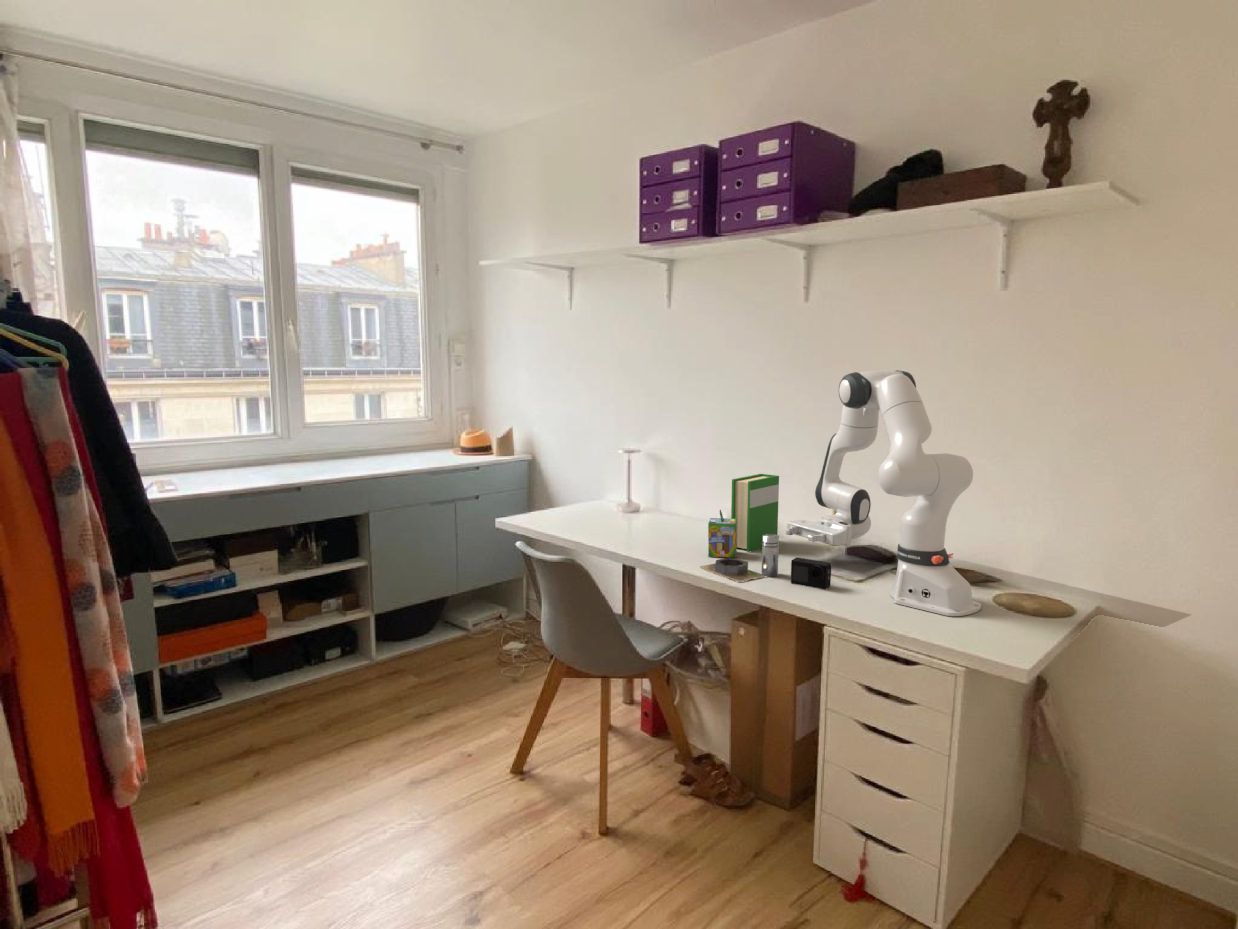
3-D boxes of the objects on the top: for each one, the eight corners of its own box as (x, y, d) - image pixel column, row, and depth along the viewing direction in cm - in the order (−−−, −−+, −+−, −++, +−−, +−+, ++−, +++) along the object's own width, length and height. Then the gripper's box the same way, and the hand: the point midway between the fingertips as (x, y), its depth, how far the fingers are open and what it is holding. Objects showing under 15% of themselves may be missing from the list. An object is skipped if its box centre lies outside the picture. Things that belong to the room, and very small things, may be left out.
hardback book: (748, 552, 246) (750, 481, 243) (730, 548, 251) (731, 479, 248) (777, 543, 259) (779, 475, 256) (759, 539, 264) (760, 473, 261)
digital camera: (788, 584, 210) (789, 560, 209) (795, 580, 215) (796, 556, 214) (823, 590, 204) (824, 566, 203) (830, 586, 209) (831, 562, 208)
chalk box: (735, 558, 238) (736, 514, 236) (707, 557, 240) (708, 512, 238) (737, 551, 247) (738, 508, 245) (709, 550, 249) (710, 507, 247)
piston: (781, 575, 219) (782, 536, 217) (769, 578, 216) (770, 538, 215) (769, 571, 223) (770, 533, 221) (757, 574, 220) (758, 535, 219)
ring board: (764, 577, 217) (764, 567, 217) (739, 582, 212) (739, 572, 212) (724, 563, 232) (724, 554, 232) (699, 568, 227) (699, 558, 226)
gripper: (805, 513, 241) (774, 518, 233) (855, 526, 224) (824, 532, 216) (804, 532, 242) (773, 538, 234) (854, 546, 225) (823, 553, 217)
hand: (798, 535), depth 225 cm, fingers open, 8 cm apart
